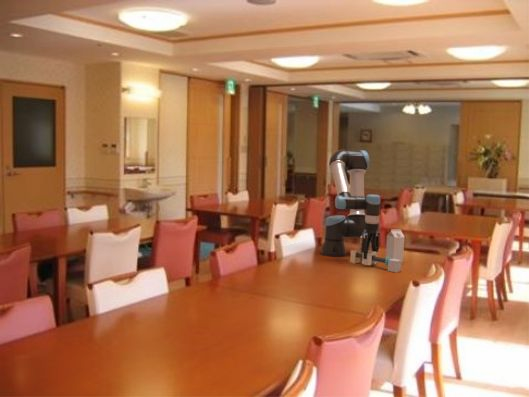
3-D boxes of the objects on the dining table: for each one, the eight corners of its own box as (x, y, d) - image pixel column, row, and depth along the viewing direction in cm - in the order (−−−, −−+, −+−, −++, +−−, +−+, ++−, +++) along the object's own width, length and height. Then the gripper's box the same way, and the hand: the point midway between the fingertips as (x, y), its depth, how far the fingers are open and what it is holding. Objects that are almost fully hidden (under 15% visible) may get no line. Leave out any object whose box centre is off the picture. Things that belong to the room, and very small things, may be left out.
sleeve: (362, 263, 314) (362, 251, 313) (368, 262, 319) (369, 250, 318) (369, 265, 311) (370, 253, 310) (376, 263, 315) (377, 251, 314)
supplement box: (358, 259, 332) (359, 236, 330) (359, 257, 336) (360, 235, 335) (372, 260, 329) (374, 238, 328) (373, 259, 334) (374, 237, 333)
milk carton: (385, 260, 330) (387, 228, 329) (395, 260, 334) (397, 228, 332) (392, 263, 324) (395, 230, 322) (402, 262, 327) (405, 230, 325)
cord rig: (350, 262, 321) (350, 250, 320) (355, 261, 324) (355, 249, 323) (395, 272, 300) (396, 259, 300) (400, 271, 304) (401, 258, 303)
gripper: (367, 225, 303) (364, 267, 305) (387, 222, 317) (384, 263, 319) (355, 223, 308) (353, 264, 310) (375, 220, 322) (373, 260, 324)
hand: (369, 263), depth 315 cm, fingers closed on sleeve, 6 cm apart
